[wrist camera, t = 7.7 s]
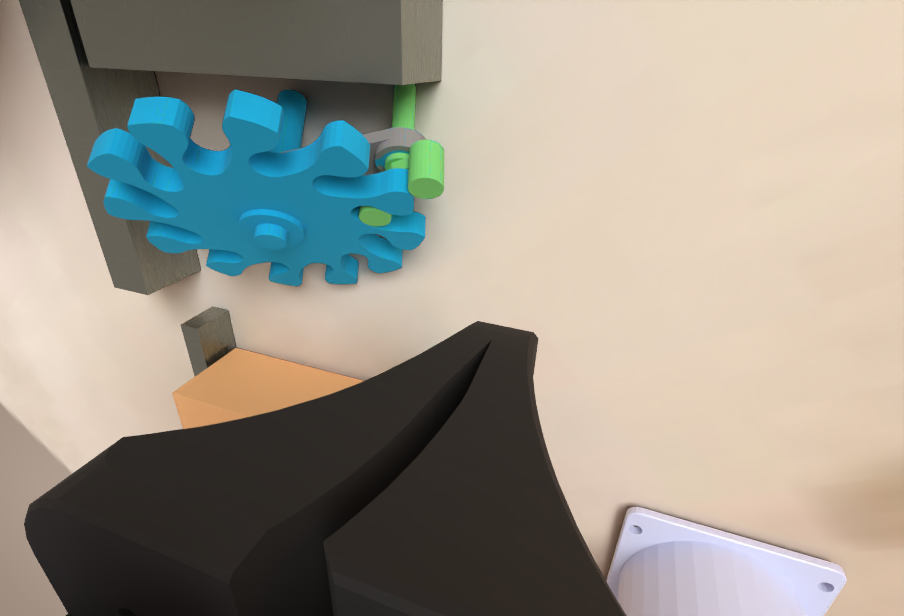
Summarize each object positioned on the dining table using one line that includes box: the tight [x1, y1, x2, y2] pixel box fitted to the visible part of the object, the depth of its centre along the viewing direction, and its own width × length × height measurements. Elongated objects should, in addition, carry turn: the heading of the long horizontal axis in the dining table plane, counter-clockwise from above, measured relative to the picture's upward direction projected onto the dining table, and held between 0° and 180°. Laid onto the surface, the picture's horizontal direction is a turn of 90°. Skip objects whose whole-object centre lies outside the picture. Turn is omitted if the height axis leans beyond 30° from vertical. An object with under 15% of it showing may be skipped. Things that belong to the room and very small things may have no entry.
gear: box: [87, 84, 444, 286], centre depth 17 cm, size 11×6×10 cm
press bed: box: [19, 0, 443, 376], centre depth 16 cm, size 28×15×10 cm, turn 178°
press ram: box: [172, 348, 363, 429], centre depth 23 cm, size 4×10×4 cm, turn 88°
